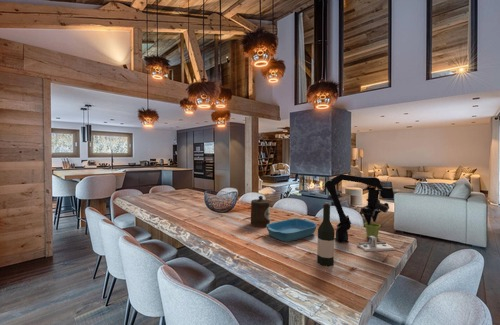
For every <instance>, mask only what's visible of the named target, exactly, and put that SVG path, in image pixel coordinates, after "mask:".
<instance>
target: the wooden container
mask: <svg viewBox="0 0 500 325" xmlns="http://www.w3.org/2000/svg"><path fill="white" fill-rule="evenodd" d="M263 198H264V196H262V195H260V196H258V198H257V199H251V202H250V203H251V204H250V205H251V206H250V226H253V227H255V228H256V227H257V228H267V224H270V223H271V200H269V199H263Z"/></svg>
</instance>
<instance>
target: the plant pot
mask: <svg viewBox="0 0 500 325" xmlns="http://www.w3.org/2000/svg"><path fill="white" fill-rule="evenodd" d="M364 226H365V232H366V238H367V239H369V236H374V237H376V238H377V239H378V237H379V231H380V228H381V224H379V223H376V222H371V223H370V225H368V223H367V222H364Z"/></svg>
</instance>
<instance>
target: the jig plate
mask: <svg viewBox="0 0 500 325" xmlns="http://www.w3.org/2000/svg"><path fill="white" fill-rule="evenodd" d="M356 245H357V247H358V248H360V249H361V250H363V251H364V252H379V251H383V252H384V251H395V250H396V247H393V245H390V244H388V243H387V241H377V246H373V247H372V246H370V245H369V241H368V242H358V243H357V244H356Z"/></svg>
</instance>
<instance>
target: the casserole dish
mask: <svg viewBox="0 0 500 325" xmlns="http://www.w3.org/2000/svg"><path fill="white" fill-rule="evenodd" d="M317 227H318V224H317V223H315V222H314V221H311V220H309V219H305V218H304V219H302V218H289V219H284V220H280V221H276V222H275V221H274V222H270V224H267V227H266V228H267V232H268V234H269V235H270V237H273V238H274V239H276V240H278V241H282V242H292V241H296V240H301V239H304V238H307V237H309V236H311V235H313V234H314V233H315V231H316V230H317V229H316V228H317Z"/></svg>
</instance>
